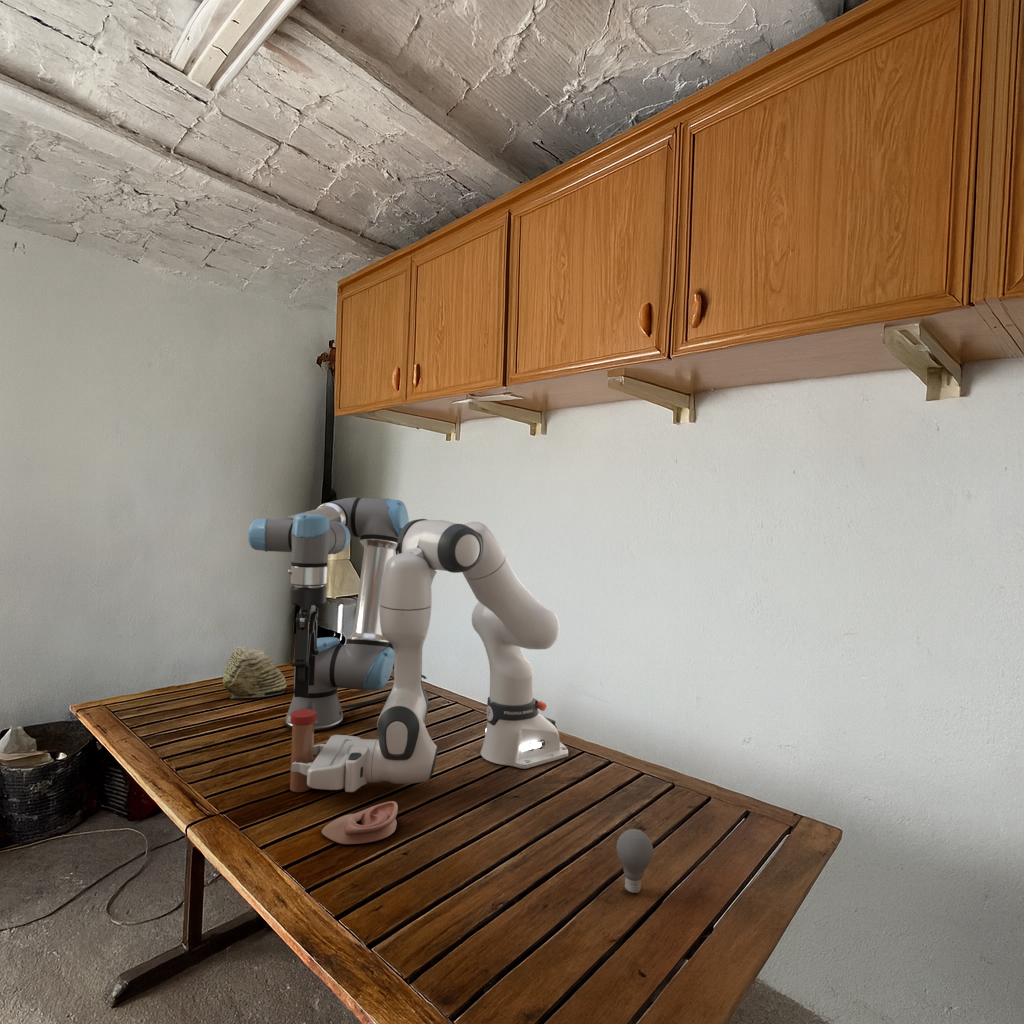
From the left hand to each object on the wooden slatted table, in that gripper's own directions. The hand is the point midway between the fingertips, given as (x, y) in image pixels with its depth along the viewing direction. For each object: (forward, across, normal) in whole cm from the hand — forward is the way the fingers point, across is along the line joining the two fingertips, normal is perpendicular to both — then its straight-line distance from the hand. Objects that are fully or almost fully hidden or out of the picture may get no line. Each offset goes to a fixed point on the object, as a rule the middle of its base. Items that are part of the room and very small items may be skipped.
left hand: (304, 690), depth 137 cm
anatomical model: (+21, +19, +14) cm, 32 cm away
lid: (+5, 0, 0) cm, 5 cm away
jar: (+21, 0, 0) cm, 21 cm away
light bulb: (+21, +42, +60) cm, 76 cm away
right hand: (+15, 0, -1) cm, 15 cm away
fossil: (+21, -65, -25) cm, 73 cm away
